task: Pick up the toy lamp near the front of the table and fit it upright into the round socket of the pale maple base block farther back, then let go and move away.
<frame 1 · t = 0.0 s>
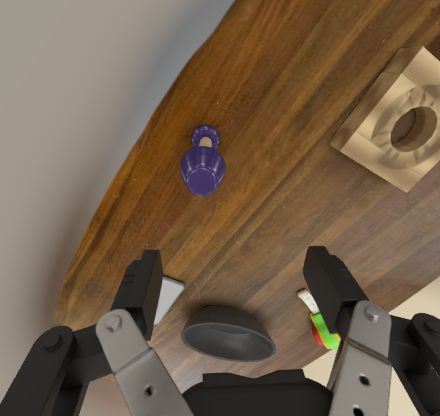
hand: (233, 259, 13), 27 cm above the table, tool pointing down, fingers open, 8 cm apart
smartphone: (153, 297, 53), on the table
bowl: (228, 317, 58), on the table
toy lamp: (204, 136, 37), on the table
socket base: (394, 124, 37), on the table
toy measuring tape: (316, 311, 58), on the table
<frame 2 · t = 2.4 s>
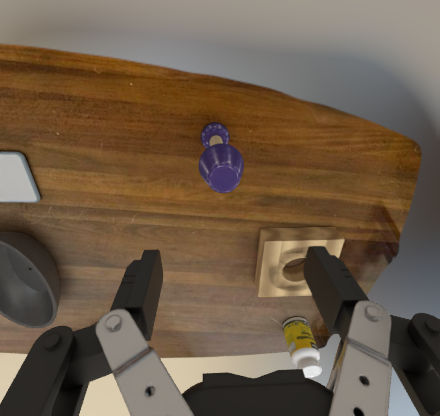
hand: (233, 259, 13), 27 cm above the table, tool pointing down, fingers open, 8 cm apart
pill bottle: (294, 323, 61), on the table
bowl: (36, 262, 48), on the table
toy lamp: (216, 135, 37), on the table
socket base: (292, 256, 49), on the table
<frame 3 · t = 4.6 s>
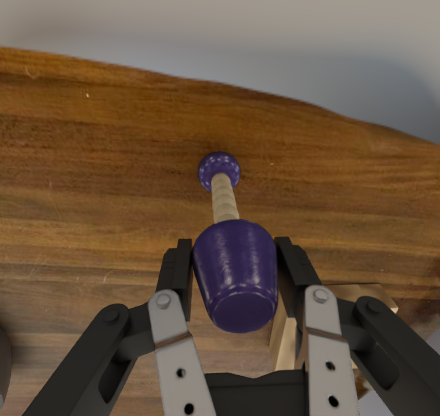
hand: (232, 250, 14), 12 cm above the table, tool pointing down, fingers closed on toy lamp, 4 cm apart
toy lamp: (221, 169, 25), on the table, touching gripper
socket base: (319, 317, 37), on the table
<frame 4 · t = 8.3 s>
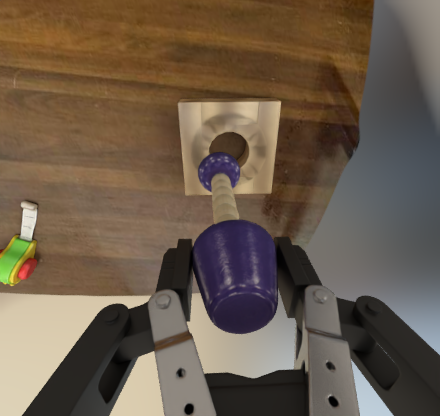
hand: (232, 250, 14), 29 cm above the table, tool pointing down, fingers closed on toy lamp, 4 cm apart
toy lamp: (221, 169, 25), point 16 cm above the table, touching gripper
socket base: (227, 144, 40), on the table
toy measuring tape: (27, 239, 48), on the table
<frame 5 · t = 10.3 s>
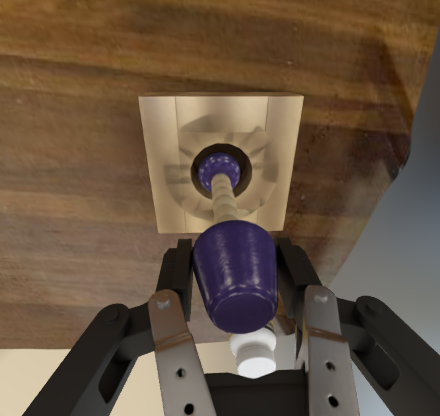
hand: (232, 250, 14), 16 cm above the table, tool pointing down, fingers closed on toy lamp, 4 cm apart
pill bottle: (244, 293, 39), on the table
toy lamp: (221, 169, 25), point 3 cm above the table, touching gripper
socket base: (219, 160, 28), on the table
when the fingers open (12 cm above the table, at t = 11.9 s): toy lamp stays where it is, resting in socket base.
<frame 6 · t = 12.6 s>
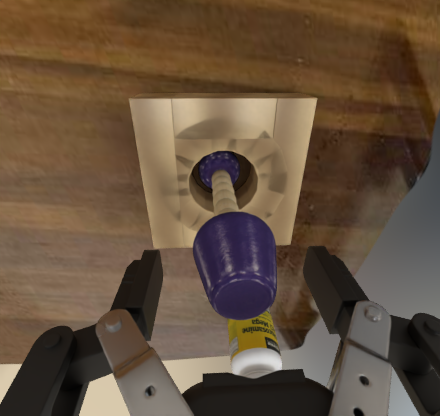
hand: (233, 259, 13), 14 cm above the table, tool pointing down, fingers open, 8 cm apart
pill bottle: (247, 307, 37), on the table
toy lamp: (221, 166, 25), resting in socket base
socket base: (221, 168, 25), on the table
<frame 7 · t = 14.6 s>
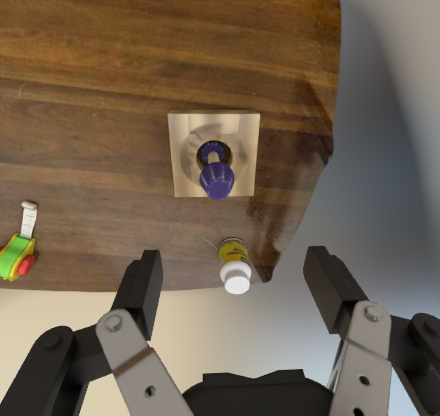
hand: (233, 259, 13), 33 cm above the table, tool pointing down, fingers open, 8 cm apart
pill bottle: (231, 247, 55), on the table
toy lamp: (213, 150, 44), resting in socket base
socket base: (213, 151, 44), on the table
toy measuring tape: (26, 237, 51), on the table
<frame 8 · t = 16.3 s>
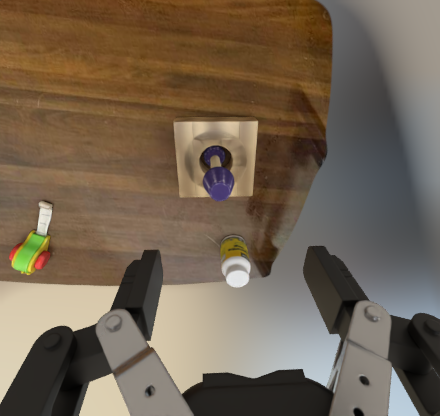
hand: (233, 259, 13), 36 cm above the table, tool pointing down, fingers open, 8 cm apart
pill bottle: (232, 243, 59), on the table
toy lamp: (215, 154, 48), resting in socket base
socket base: (215, 155, 48), on the table
toy measuring tape: (42, 234, 55), on the table
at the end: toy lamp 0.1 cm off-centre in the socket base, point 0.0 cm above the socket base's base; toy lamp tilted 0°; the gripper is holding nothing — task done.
